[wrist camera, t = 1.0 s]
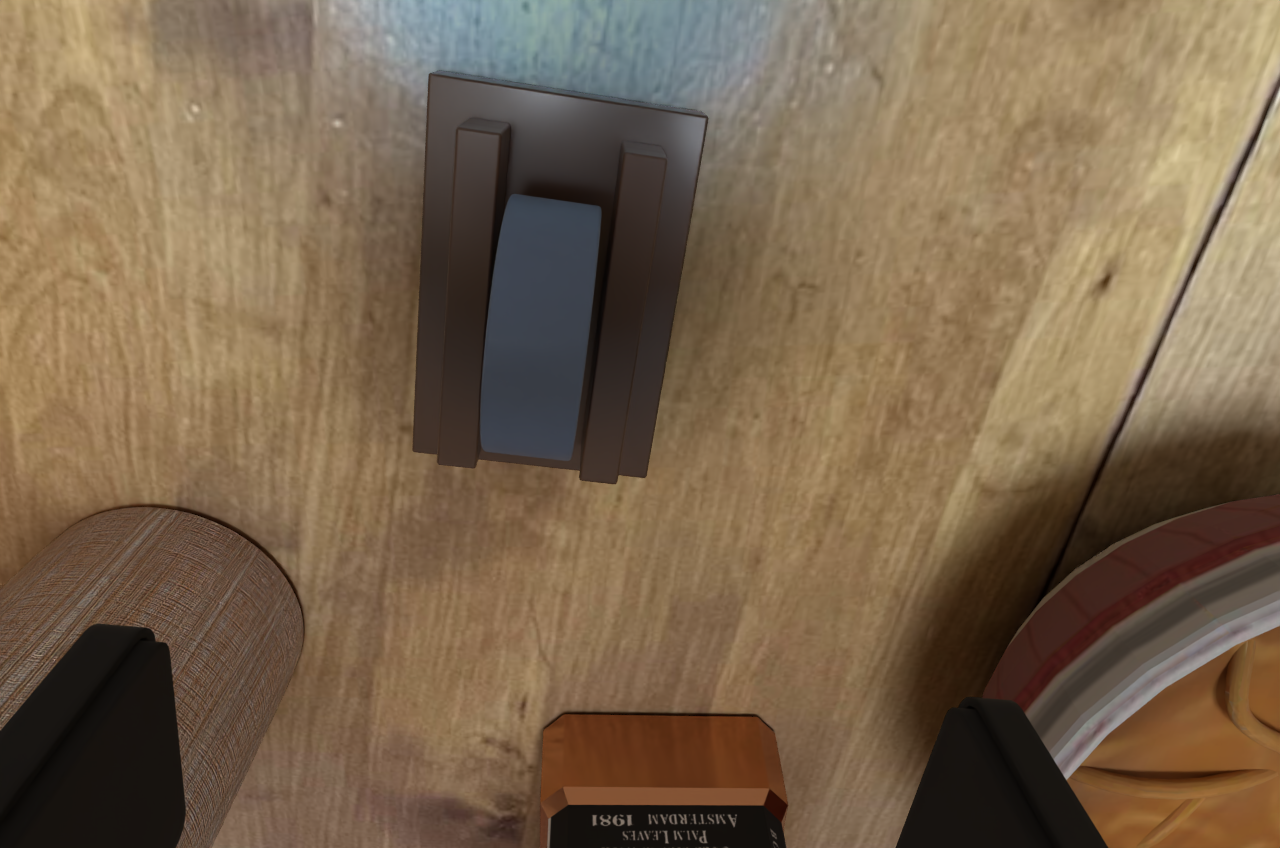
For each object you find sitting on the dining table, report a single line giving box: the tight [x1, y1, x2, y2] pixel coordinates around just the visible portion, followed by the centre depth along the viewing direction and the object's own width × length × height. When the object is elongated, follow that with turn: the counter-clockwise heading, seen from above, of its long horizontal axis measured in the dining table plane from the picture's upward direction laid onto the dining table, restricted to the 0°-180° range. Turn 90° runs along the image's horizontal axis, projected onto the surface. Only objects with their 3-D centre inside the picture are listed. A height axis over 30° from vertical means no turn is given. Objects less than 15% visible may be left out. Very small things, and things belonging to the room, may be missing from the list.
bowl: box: [982, 494, 1280, 848], centre depth 31 cm, size 23×23×10 cm
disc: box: [480, 194, 601, 461], centre depth 24 cm, size 7×2×7 cm, turn 172°
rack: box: [413, 71, 708, 484], centre depth 26 cm, size 12×8×4 cm, turn 172°
